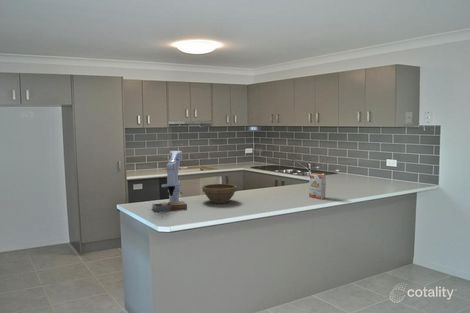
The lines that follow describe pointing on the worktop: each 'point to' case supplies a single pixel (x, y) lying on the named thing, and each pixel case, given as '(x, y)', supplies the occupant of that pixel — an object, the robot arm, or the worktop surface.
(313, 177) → the cracker box
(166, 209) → the charcoal tray
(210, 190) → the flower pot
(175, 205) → the walnut board
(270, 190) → the worktop surface
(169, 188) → the robot arm
